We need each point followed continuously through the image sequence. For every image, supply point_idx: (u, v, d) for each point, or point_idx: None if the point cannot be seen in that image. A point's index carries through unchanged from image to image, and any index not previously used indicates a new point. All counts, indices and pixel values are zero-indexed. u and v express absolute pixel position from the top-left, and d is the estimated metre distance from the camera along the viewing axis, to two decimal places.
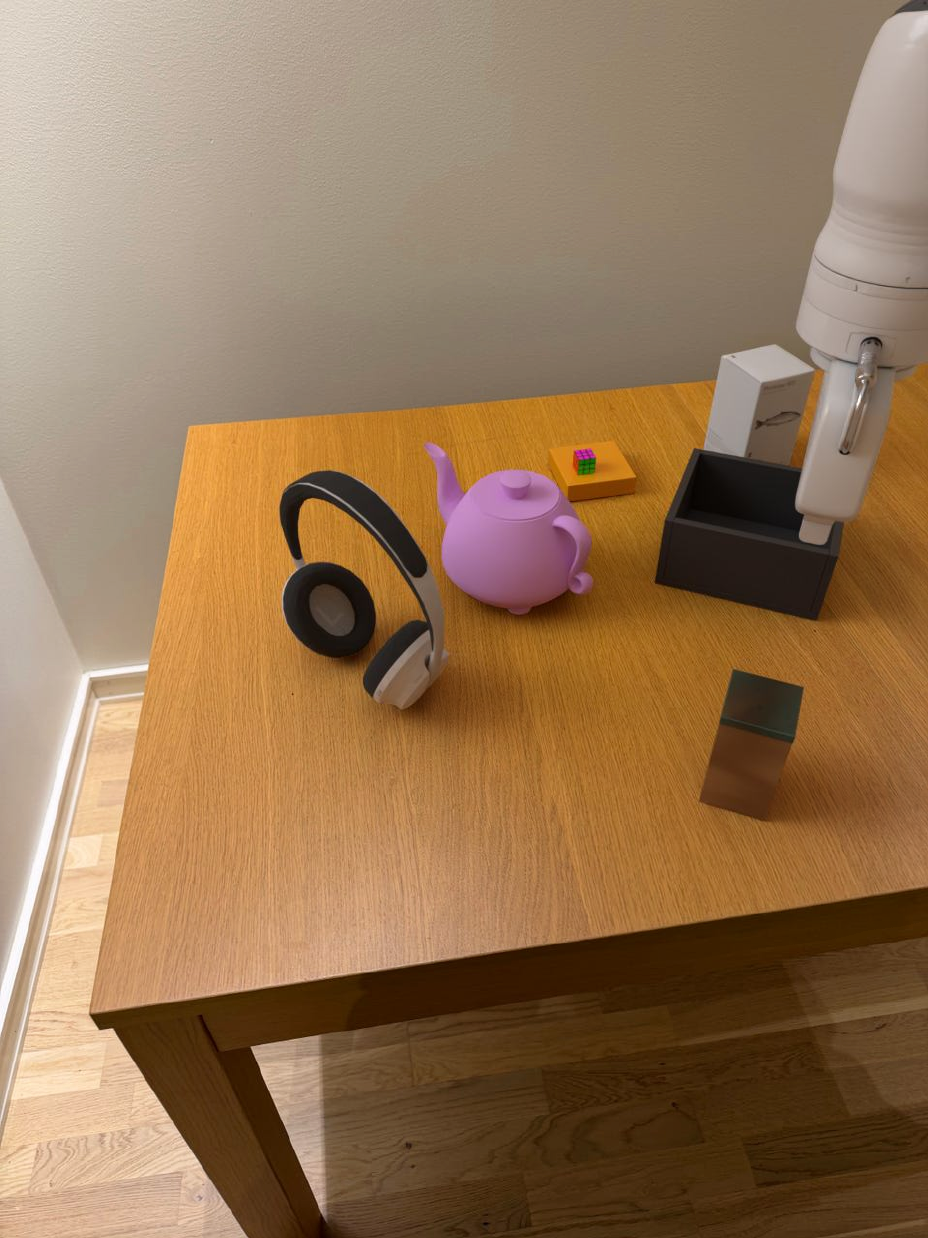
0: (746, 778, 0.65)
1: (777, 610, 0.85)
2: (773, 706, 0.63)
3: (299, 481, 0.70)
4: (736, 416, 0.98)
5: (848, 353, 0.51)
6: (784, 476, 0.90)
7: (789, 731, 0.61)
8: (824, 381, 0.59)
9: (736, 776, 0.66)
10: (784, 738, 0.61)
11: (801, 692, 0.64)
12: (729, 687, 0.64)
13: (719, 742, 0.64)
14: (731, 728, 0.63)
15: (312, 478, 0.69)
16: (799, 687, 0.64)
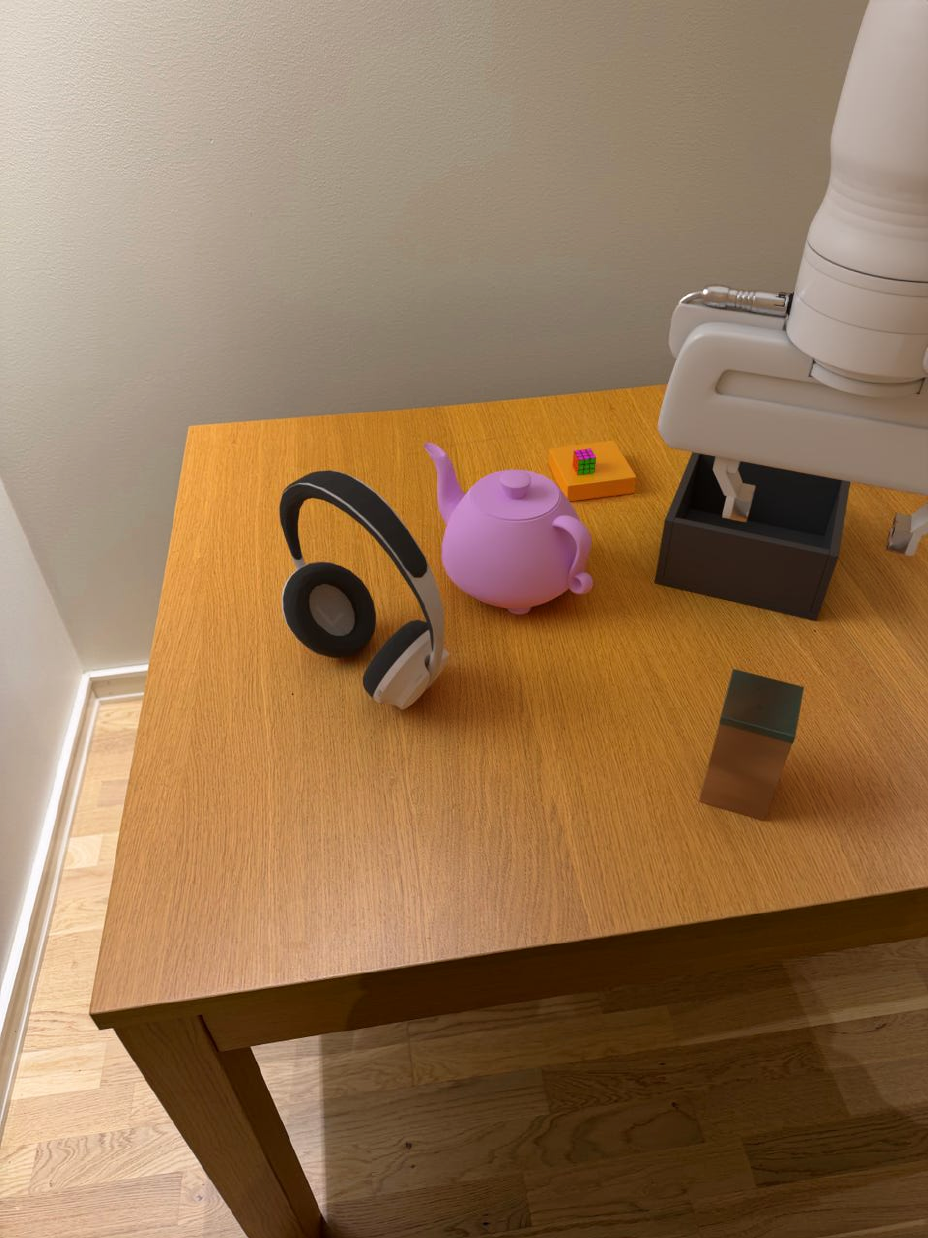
0: (746, 778, 0.65)
1: (777, 610, 0.85)
2: (773, 706, 0.63)
3: (299, 481, 0.70)
4: None
5: None
6: (784, 476, 0.90)
7: (789, 731, 0.61)
8: None
9: (736, 776, 0.66)
10: (784, 738, 0.61)
11: (801, 692, 0.64)
12: (729, 687, 0.64)
13: (719, 742, 0.64)
14: (731, 728, 0.63)
15: (312, 478, 0.69)
16: (799, 687, 0.64)
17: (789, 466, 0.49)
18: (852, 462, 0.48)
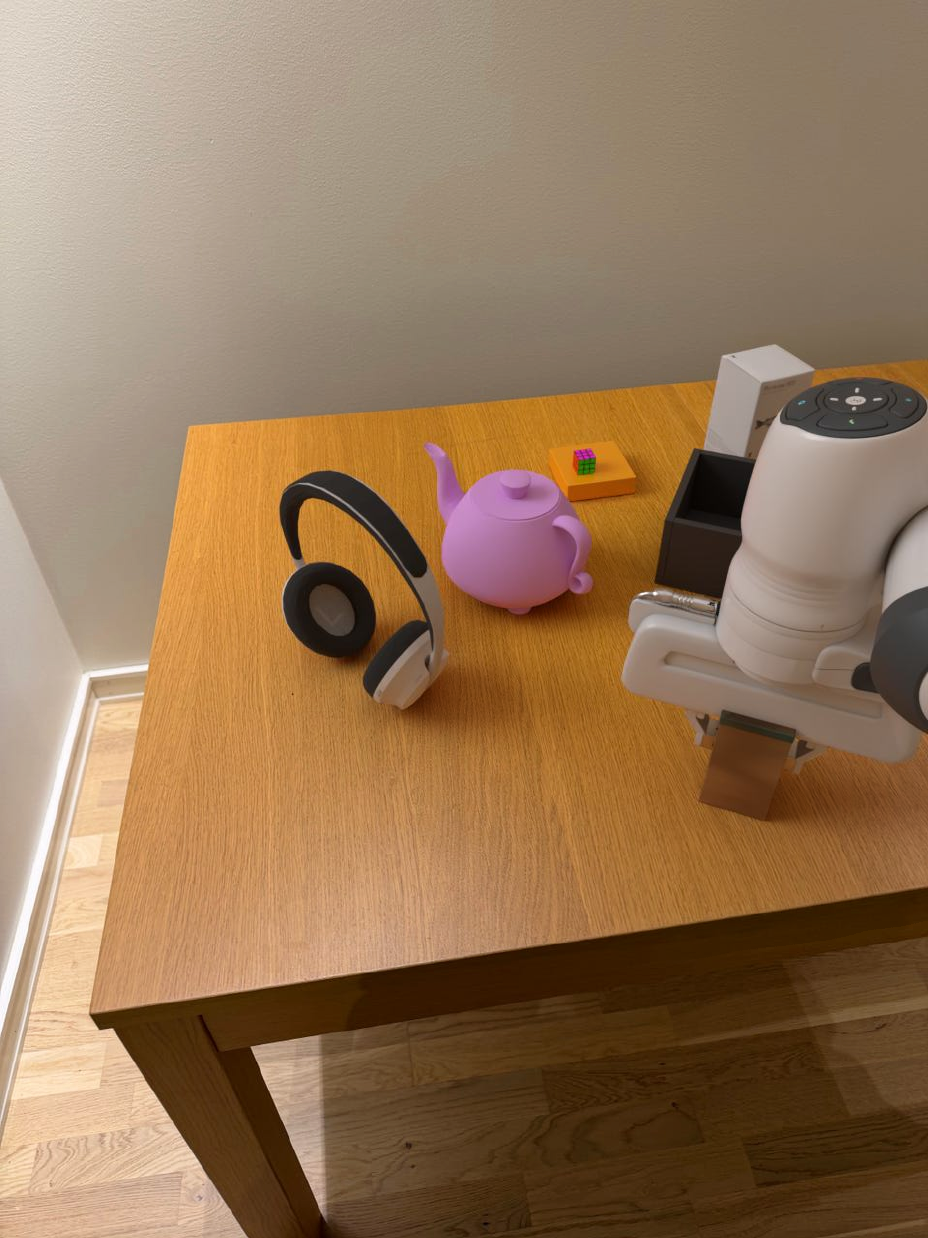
0: (745, 778, 0.65)
1: None
2: None
3: (299, 481, 0.70)
4: (736, 415, 0.98)
5: None
6: None
7: (789, 731, 0.61)
8: None
9: (735, 776, 0.66)
10: (784, 738, 0.61)
11: None
12: None
13: (718, 742, 0.64)
14: (731, 728, 0.63)
15: (312, 478, 0.69)
16: None
17: None
18: (769, 720, 0.62)
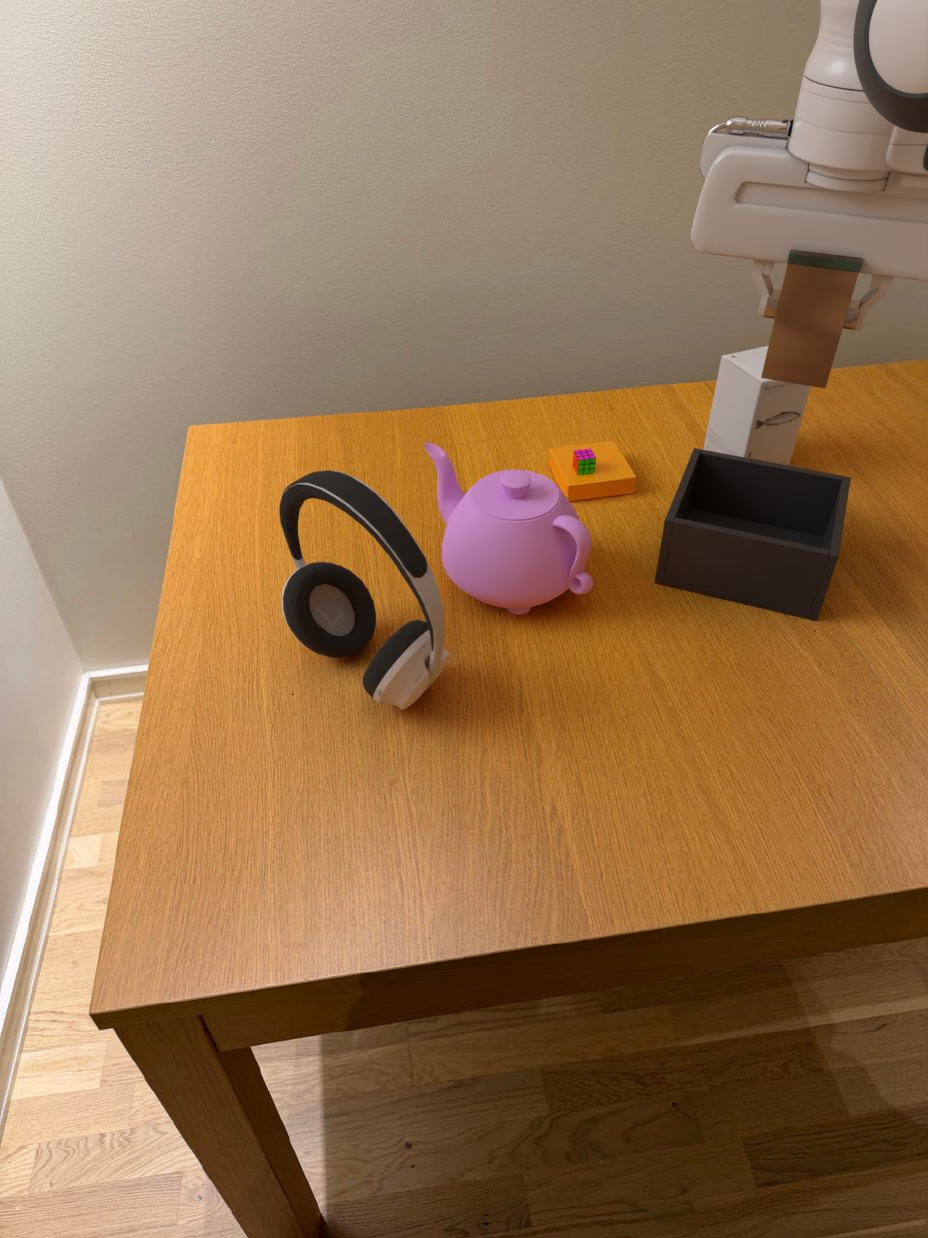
0: (810, 333, 0.68)
1: (777, 610, 0.85)
2: None
3: (299, 481, 0.70)
4: (736, 415, 0.98)
5: None
6: (784, 476, 0.90)
7: (856, 259, 0.64)
8: None
9: (800, 332, 0.68)
10: (851, 266, 0.64)
11: None
12: None
13: (785, 289, 0.67)
14: (799, 266, 0.65)
15: (312, 478, 0.69)
16: None
17: None
18: (837, 252, 0.64)
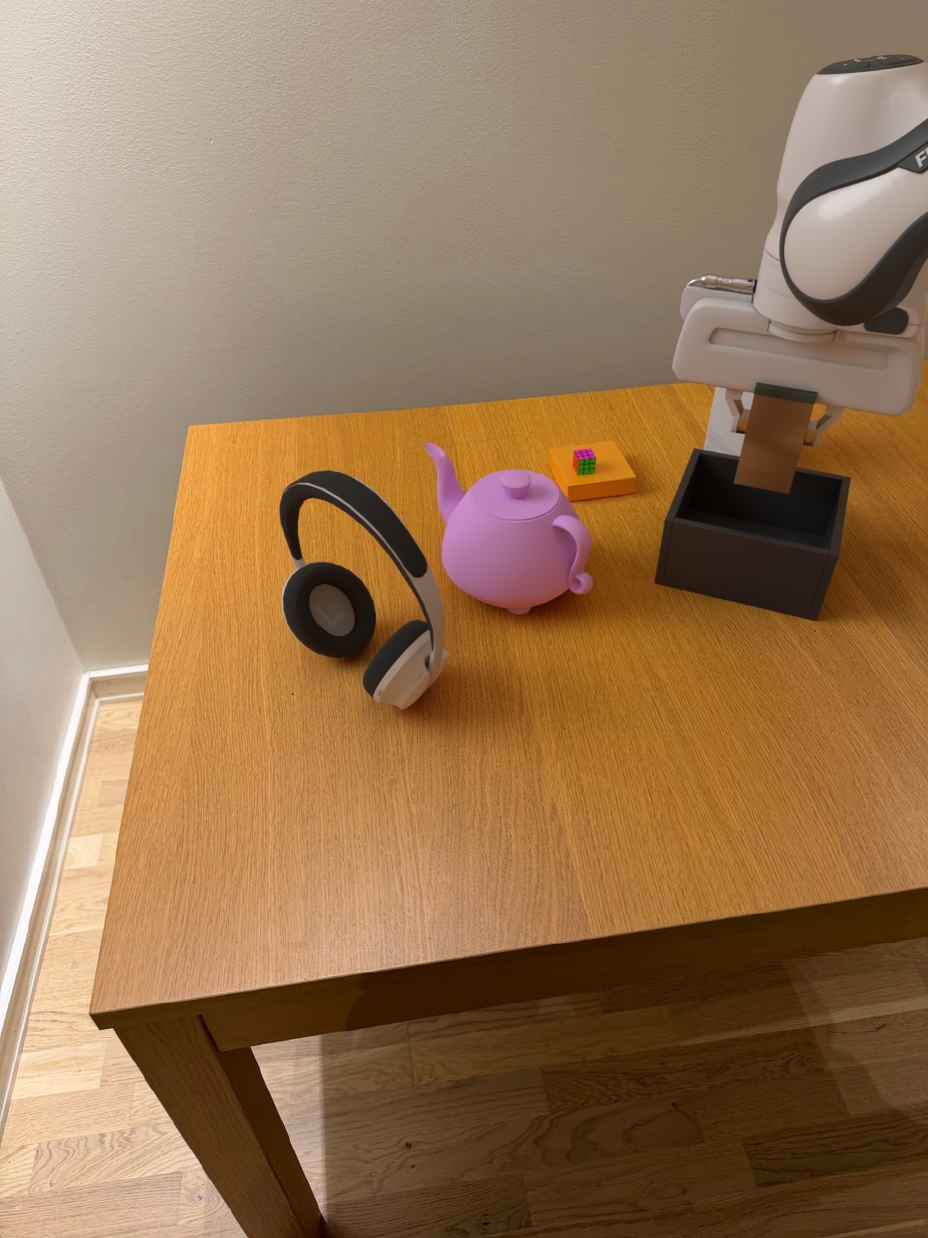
0: (774, 449, 0.79)
1: (777, 610, 0.85)
2: None
3: (299, 481, 0.70)
4: None
5: None
6: None
7: (811, 393, 0.75)
8: None
9: (766, 449, 0.80)
10: (807, 399, 0.75)
11: None
12: None
13: (753, 414, 0.78)
14: (764, 396, 0.77)
15: (312, 478, 0.69)
16: None
17: None
18: (795, 386, 0.76)
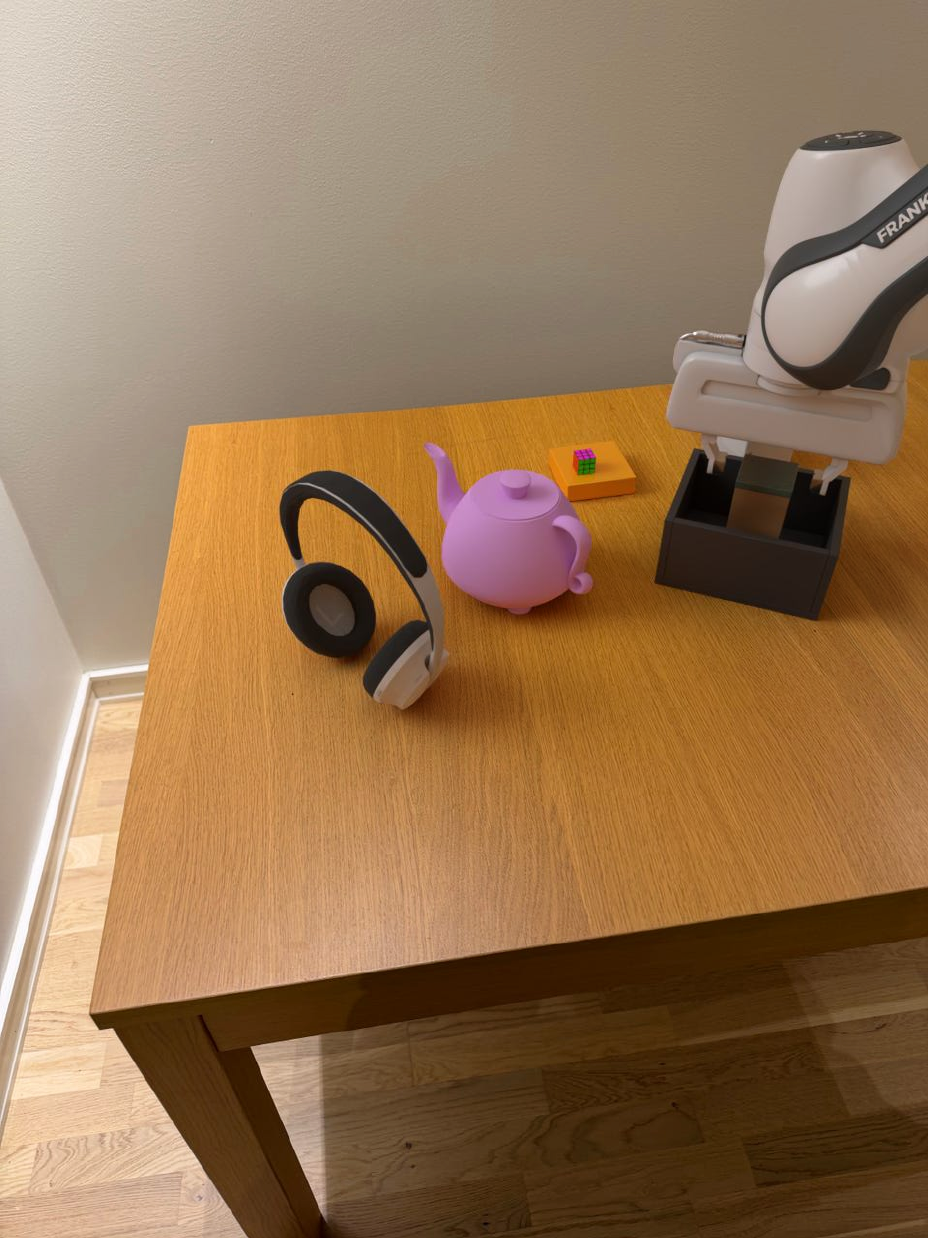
0: None
1: (777, 610, 0.85)
2: (776, 474, 0.83)
3: (299, 481, 0.70)
4: None
5: None
6: None
7: (788, 488, 0.82)
8: None
9: None
10: (784, 493, 0.82)
11: (797, 466, 0.84)
12: (742, 464, 0.85)
13: (734, 504, 0.84)
14: (744, 490, 0.83)
15: (312, 478, 0.69)
16: (795, 463, 0.85)
17: (746, 438, 0.81)
18: (784, 435, 0.79)
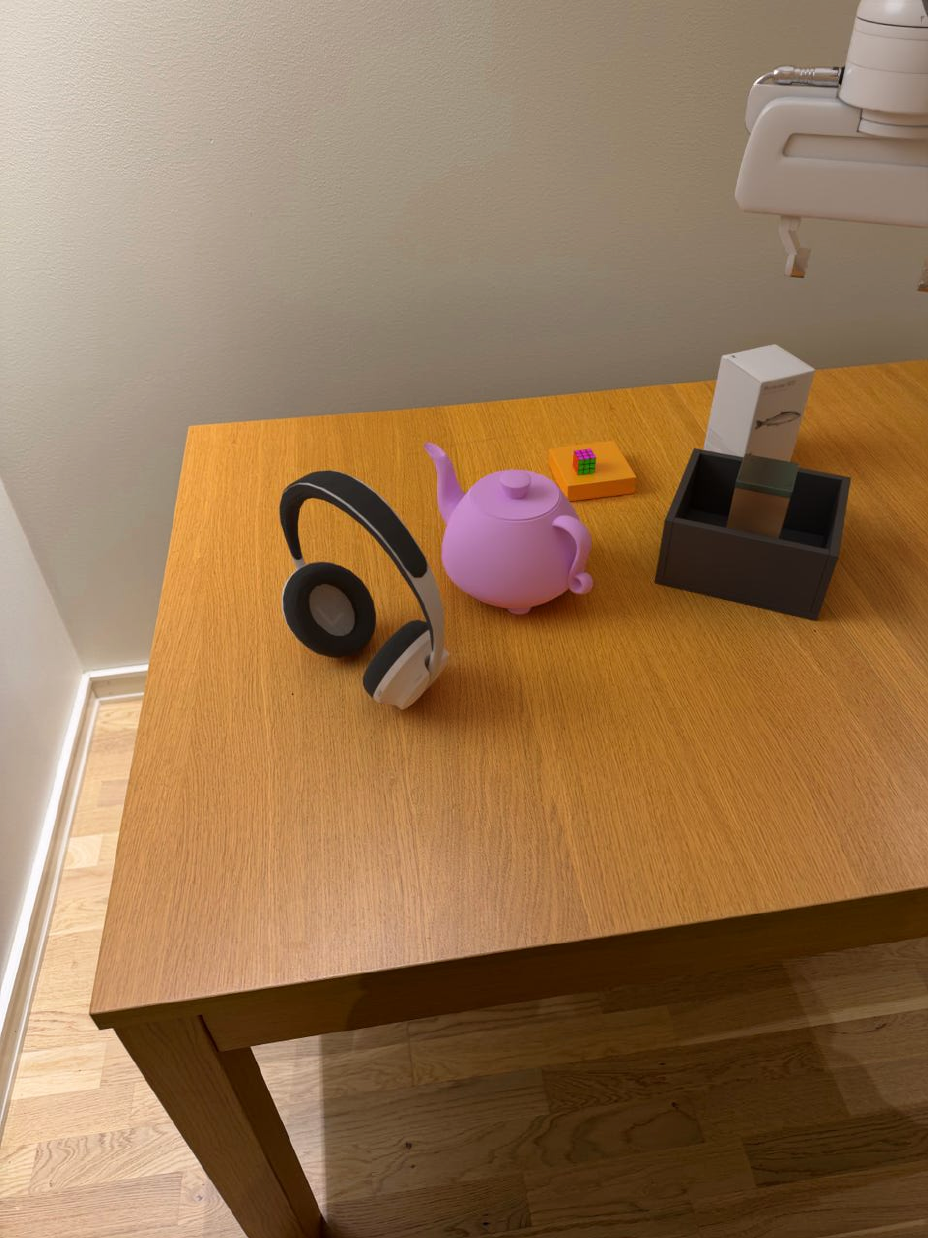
0: None
1: (777, 610, 0.85)
2: (776, 474, 0.83)
3: (299, 481, 0.70)
4: (736, 415, 0.98)
5: None
6: None
7: (788, 488, 0.82)
8: None
9: None
10: (784, 493, 0.82)
11: (797, 466, 0.84)
12: (742, 464, 0.85)
13: (734, 504, 0.84)
14: (744, 490, 0.83)
15: (312, 478, 0.69)
16: (795, 463, 0.85)
17: (840, 216, 0.63)
18: (890, 205, 0.62)
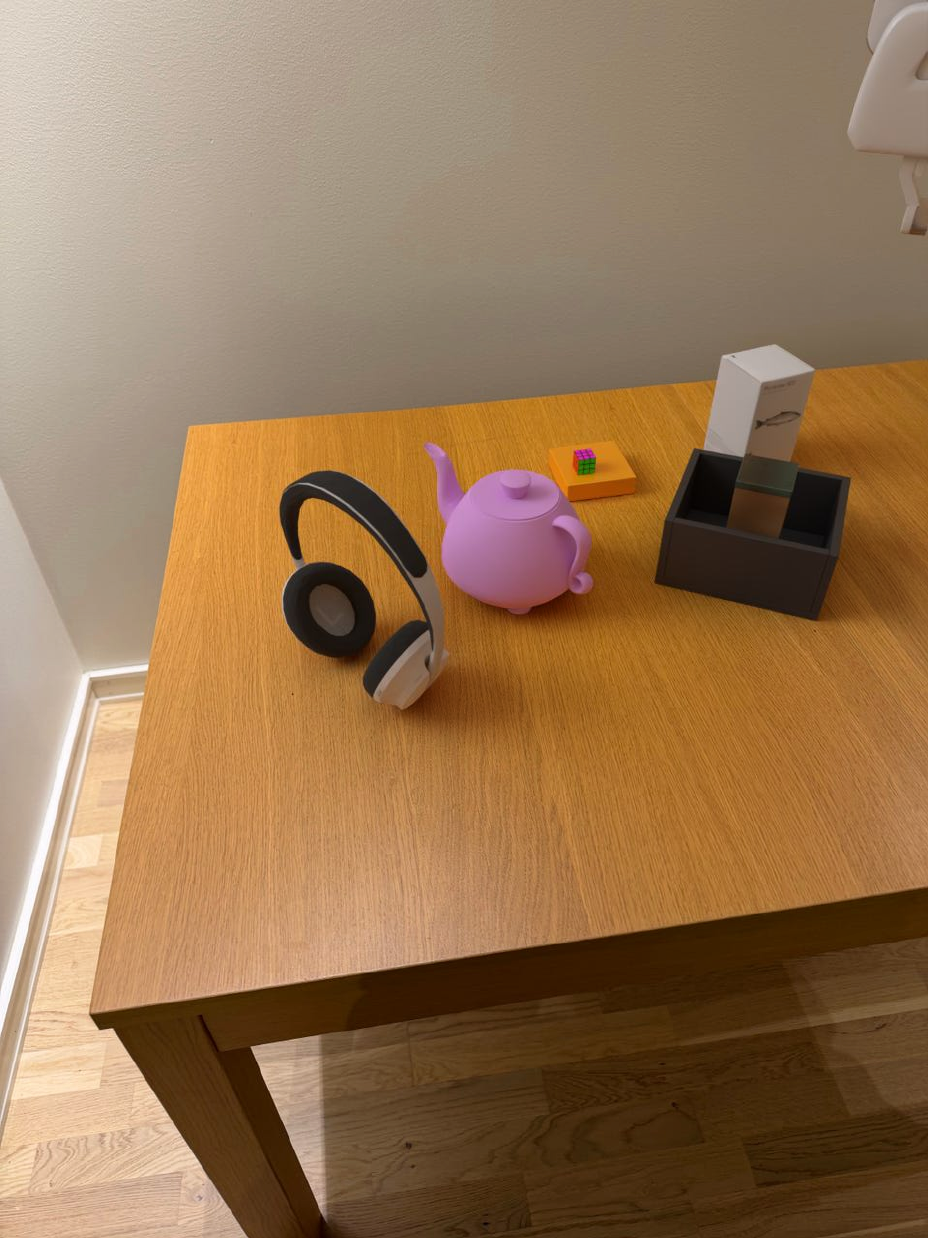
0: None
1: (777, 610, 0.85)
2: (776, 474, 0.83)
3: (299, 481, 0.70)
4: (736, 415, 0.98)
5: None
6: None
7: (788, 488, 0.82)
8: None
9: None
10: (784, 493, 0.82)
11: (797, 466, 0.84)
12: (742, 464, 0.85)
13: (734, 504, 0.84)
14: (744, 490, 0.83)
15: (312, 478, 0.69)
16: (795, 463, 0.85)
17: None
18: None
